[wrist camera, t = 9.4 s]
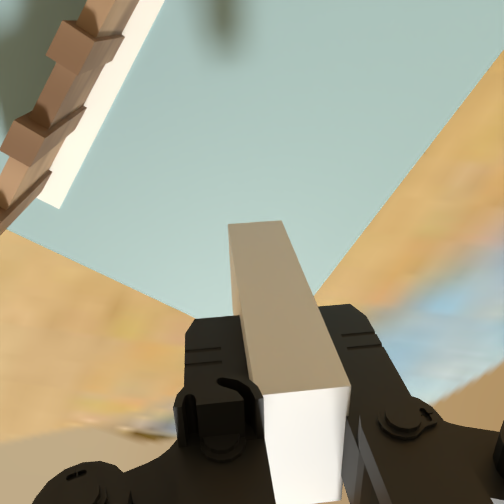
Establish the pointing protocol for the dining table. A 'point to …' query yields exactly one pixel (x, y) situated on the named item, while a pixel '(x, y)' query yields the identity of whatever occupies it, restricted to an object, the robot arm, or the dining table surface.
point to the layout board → (239, 128)
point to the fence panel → (59, 101)
